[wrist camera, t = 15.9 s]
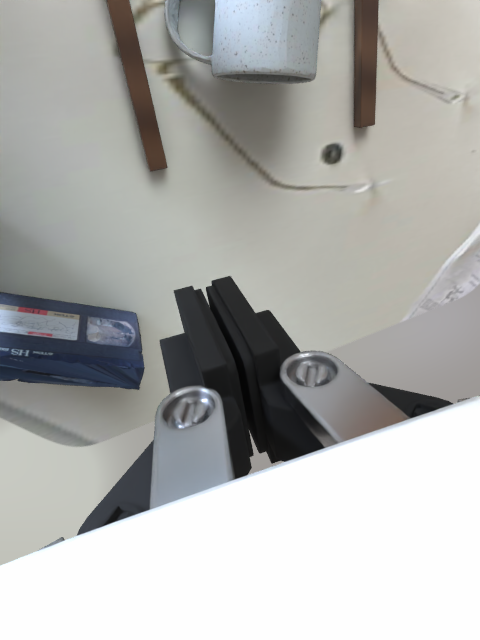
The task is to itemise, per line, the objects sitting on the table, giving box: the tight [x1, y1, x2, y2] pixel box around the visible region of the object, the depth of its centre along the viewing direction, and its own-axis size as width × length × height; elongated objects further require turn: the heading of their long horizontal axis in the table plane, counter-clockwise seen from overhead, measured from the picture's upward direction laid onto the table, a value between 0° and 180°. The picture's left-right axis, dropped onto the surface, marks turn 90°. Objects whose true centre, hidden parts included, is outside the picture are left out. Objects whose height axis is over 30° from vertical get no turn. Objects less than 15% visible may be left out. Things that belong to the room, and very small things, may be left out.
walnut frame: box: [106, 0, 379, 171], centre depth 31 cm, size 18×21×1 cm
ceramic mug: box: [165, 0, 321, 84], centre depth 28 cm, size 11×8×8 cm
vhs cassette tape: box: [0, 292, 144, 390], centre depth 33 cm, size 18×3×10 cm, turn 70°
